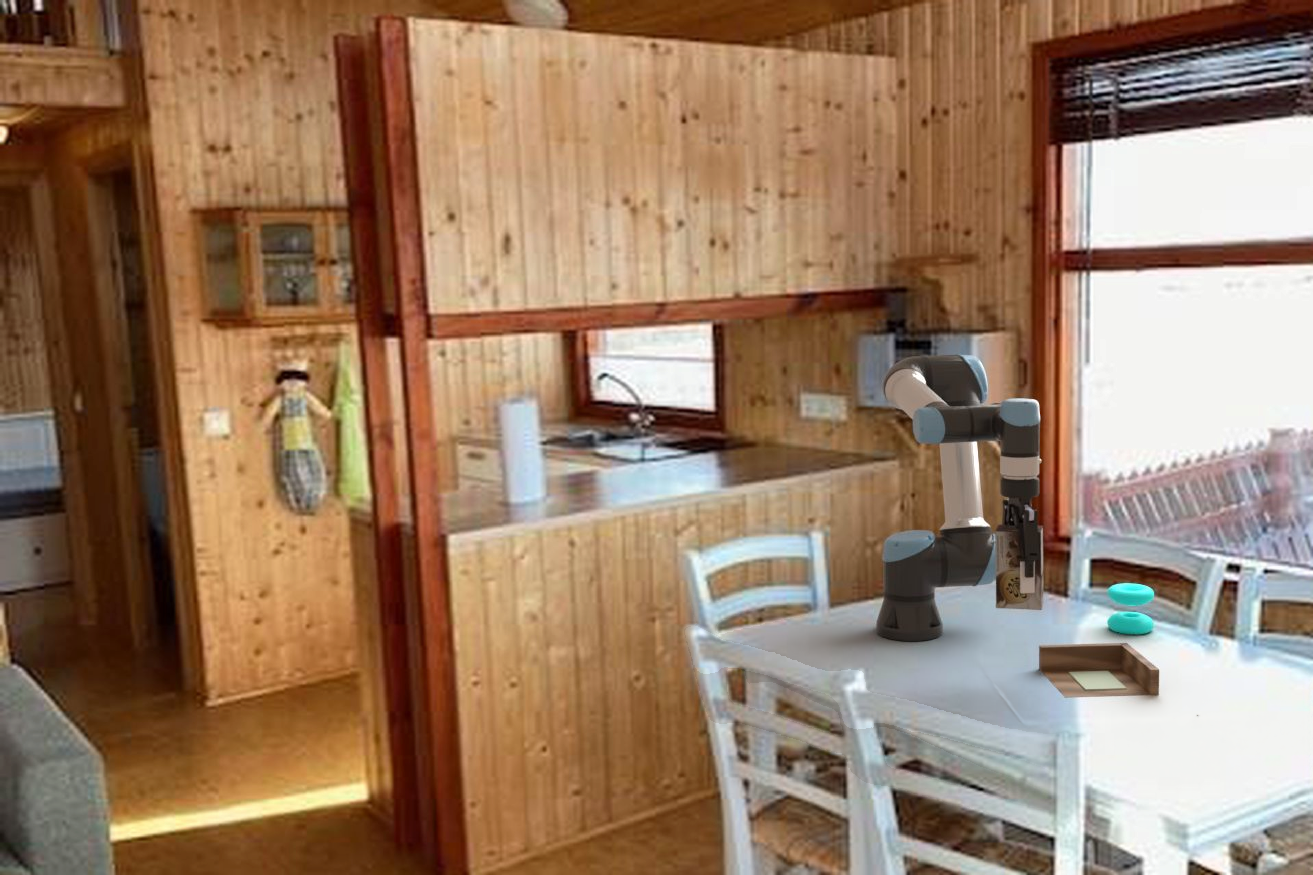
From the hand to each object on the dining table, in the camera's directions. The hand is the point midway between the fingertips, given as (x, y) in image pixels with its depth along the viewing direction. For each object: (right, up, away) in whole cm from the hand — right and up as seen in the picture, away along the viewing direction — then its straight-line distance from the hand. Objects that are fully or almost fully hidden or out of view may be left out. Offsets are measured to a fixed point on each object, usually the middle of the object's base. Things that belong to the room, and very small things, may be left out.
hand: (1019, 587), depth 262 cm
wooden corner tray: (+15, -19, -2) cm, 24 cm away
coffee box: (0, -4, +1) cm, 4 cm away
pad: (+15, -19, -2) cm, 24 cm away
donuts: (+35, -14, +35) cm, 52 cm away
